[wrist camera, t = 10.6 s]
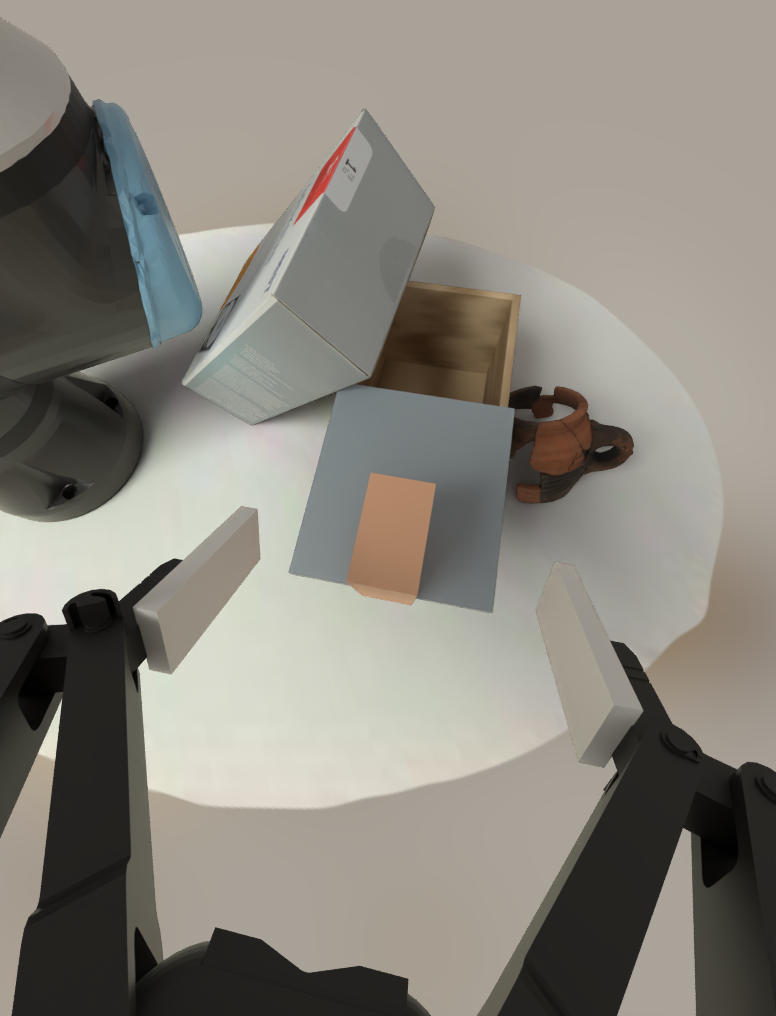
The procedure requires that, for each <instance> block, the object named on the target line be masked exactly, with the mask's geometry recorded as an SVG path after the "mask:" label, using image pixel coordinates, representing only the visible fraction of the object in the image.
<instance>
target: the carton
mask: <svg viewBox="0 0 776 1016" xmlns="http://www.w3.org/2000/svg"><path fill="white" fill-rule="evenodd" d="M520 298H521V295H515V294H507V293H499V292H492V291H484V290H476V289H468V288H460V287H453V286H445V285H437V284H429V283H421V282H414V281H408V283H407V286H406V288H405V291H404V294H403V296H402V299H401V301H400V304H399V306H398V309H397V312H396V314H395V317H394V320H393V323H392V325H391V328H390V331H389V333H388V336H387V338H386V341H385V344H384V347H383V349H382V352H381V354H380V357H379V360H378V362H377V365H376V367H375V370H374V372H373V374H372V377H370V378H368V379H366V380H363V381H361V382H358V383H356V385H363V386H370V387H376V388H383V389H389V390H396V391H402V392H409V393H416V394H422V395H429V396H435V397H442V398H448V399H455V400H462V401H468V402H475V403H481V404H488V405H495V406H501V407H508V402H509V394H510V385H511V376H512V368H513V359H514V350H515V342H516V333H517V324H518V316H519V307H520Z"/></svg>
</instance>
